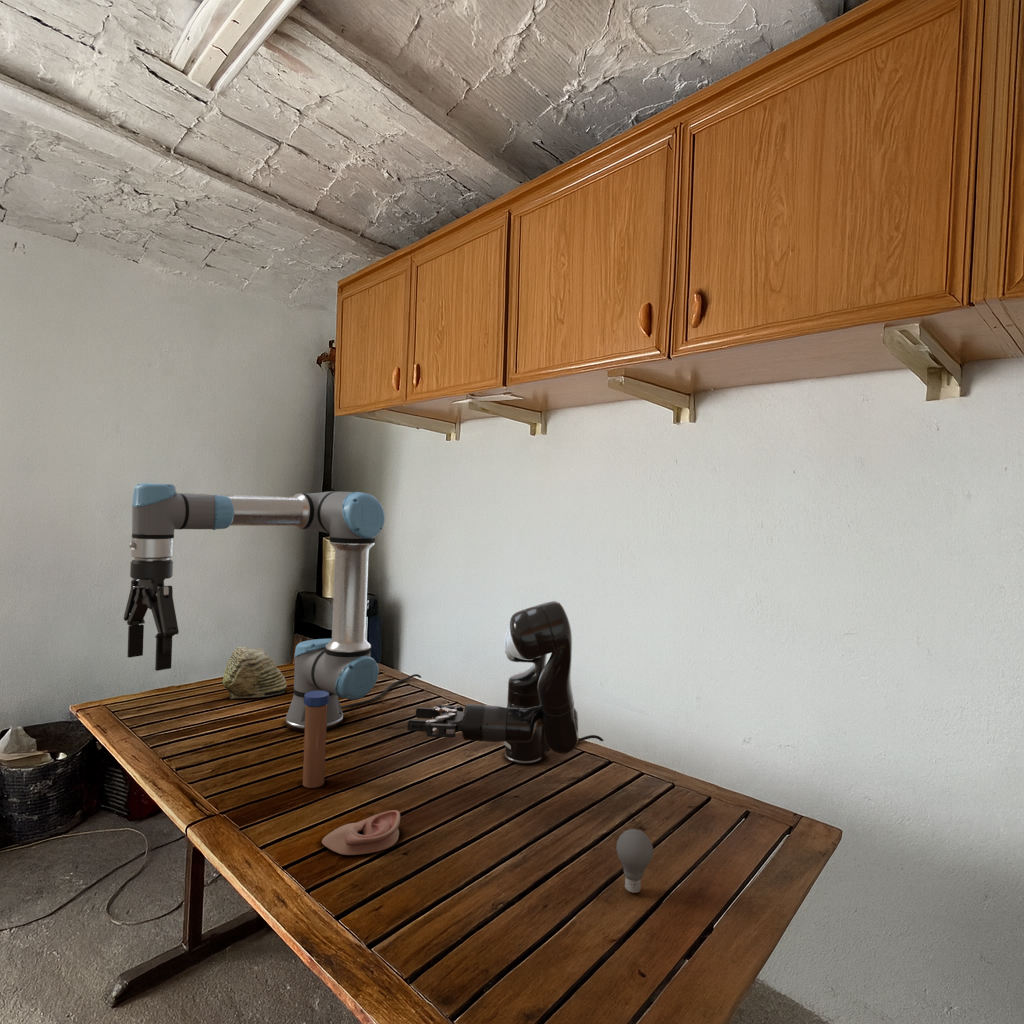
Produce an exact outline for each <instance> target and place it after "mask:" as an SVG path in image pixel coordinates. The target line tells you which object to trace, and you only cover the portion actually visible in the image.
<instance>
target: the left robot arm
mask: <svg viewBox="0 0 1024 1024" xmlns="http://www.w3.org/2000/svg"><path fill="white" fill-rule="evenodd" d="M385 515H386V513H385V511H384V508H383V505H382V503H381V502H380V501H379V500H378V498H377V497H375V495H373V494H370V493H367V492H363V491H362V492H361V491H337V490H336V491H335V490H333V491H332V490H330V491H321V492H311V493H295V494H294V495H293V496H276V495H275V496H274V495H273V496H272V495H248V494H247V495H246V494H244V495H243V494H220V493H219V494H218V493H217V494H216V493H215V494H214V493H189V492H187V493H186V492H177V491H176V486H175V485H174V484H173V483H152V482H139V483H137V484H136V485H135V486H134V488H133V492H132V501H131V520H132V521H131V542H130V543H128V547H129V548H130V549H131V550H130V556H131V558H133V559H132V560H131V561H130V567H129V568H130V571H129V574H130V575H129V576H130V578H131V581H130V590H129V594H128V598H127V603H126V607H125V610H124V615H123V621H124V622H126V624H127V626H128V629H127V630H128V631H127V658H135V657H142V656H144V635H145V634H144V630H145V625H144V624H145V623H146V621H145V619H144V618H145V616H146V615H147V612H148V609H149V610H151V613H152V618H153V620H154V624H155V627H156V631H157V633H156V635H155V636H154V638H155V661H154V663H155V665H154V668H155V669H154V670H155V671H157V672H159V671H164V670H169V669H172V659H173V657H172V655H173V637H175V636H176V635H179V632H180V631H179V625H178V619H177V615H176V614H177V613H176V609H175V603H174V597H173V595H174V593H173V585H165V580H167V579H171V578H172V577H173V575H174V573H173V572H174V561H173V560H172V559H171V558H173V557H174V554H175V553H174V552H175V530H213V531H215V530H224V529H228V528H230V526H233V527H234V526H237V527H238V526H240V527H243V526H246V527H247V526H249V527H250V526H258V527H259V526H268V527H269V526H276V527H277V526H282V527H284V526H285V527H286V526H287V527H288V526H289V527H290V526H291V527H293V528H294V529H296V530H308V531H309V530H310V531H316V532H319V533H325V534H329V544H330V545H331V546H332V547H333V548H334V550H335V551H334V572H333V573H334V577H333V599H332V625H331V626H332V627H331V638H317V639H308V640H304V641H300V642H299V643H297V645H296V646H295V650H294V655H293V657H294V672H293V673H294V674H293V695H292V696H293V697H292V699H291V702H290V704H289V708H288V711H287V713H286V715H285V726H286V728H287V729H289V730H291V731H294V732H295V731H296V732H301V733H304V732H305V706H306V705H305V704H304V695H305V693H307V692H310V691H327V692H329V696H330V698H329V703H328V704H327V728H326V731H329V730H332V729H335V728H337V727H339V726H340V725H342V723H343V722H344V713H343V709H347V708H352V707H356V706H360V705H363V704H367V703H371V702H373V701H375V700H377V699H379V698H381V697H382V696H383V695H385V694H386V693H387V692H389V690H390V689H391V688H392V687H394V686H396V685H398V684H400V683H402V682H405V681H408V680H410V679H412V678H414V677H417V678H419V679H422V676H421V675H420V674H417V673H415V674H411V675H410V676H407V677H405V678H401V679H399V680H397V681H394V682H393V683H391V684H390V685H388V687H386V689H385V690H383V691H382V692H381V693H379V694H378V695H376V696H374V697H372V698H369V699H366V700H363V701H359V702H354V703H350V704H349V703H348V704H345V705H341V702H340V699H339V698H341V699H342V700H343V699H344V700H348V701H349V700H350V701H357V700H360V699H362V698H364V697H365V696H367V695H368V694H370V692H371V690H372V689H374V687H375V685H376V683H377V682H378V678H379V674H380V672H379V671H380V670H379V669H380V668H379V665H378V663H377V662H376V660H375V659H374V657H371V652H372V649H371V648H372V644H371V643H370V642H368V640H367V639H366V631H367V607H368V606H367V605H368V604H367V602H368V582H369V581H368V579H369V555H370V553H369V552H370V550H371V548H372V547H374V545H375V544H376V536H378V535H379V534H380V533H381V530H383V528H384V526H385V522H386V521H385V520H386V516H385Z"/></svg>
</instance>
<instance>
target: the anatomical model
mask: <svg viewBox="0 0 1024 1024" xmlns="http://www.w3.org/2000/svg"><path fill="white" fill-rule="evenodd" d="M400 823H401V813H400V811H399V810H397V809H392V810H391V809H390V810H387V811H383V812H380V813H377V814H373V815H371V816H369V817H367V818H365V819H362V820H360V821H356V822H349V823H346V824H344V825H341V826H339V827H337V828H335V829H334V830H332V831H331V832H329V833H328V834H326V835H325V836H324V837H323V838H322V840H321V844H322V845H323V846H324V847H325V848H327V849H328V850H330V851H332V852H334V853H337V854H339V855H342V856H356V855H357V856H358V855H366V854H371V853H378V852H382V851H383V850H386V849H388V848H390V847H392V846H394V845H395V844H396V843H397V842H398V840H399V836H400V830H399V827H400Z"/></svg>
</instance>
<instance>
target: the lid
mask: <svg viewBox="0 0 1024 1024" xmlns="http://www.w3.org/2000/svg"><path fill="white" fill-rule="evenodd" d="M329 698H330V696H329V692H327V691H310V692H307V693H305V695H304V704H305V705H307V706H311V707H318V706H324V705H327V704H328V703H329Z"/></svg>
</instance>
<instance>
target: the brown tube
mask: <svg viewBox="0 0 1024 1024" xmlns="http://www.w3.org/2000/svg"><path fill="white" fill-rule="evenodd" d="M326 728H327V705H324V706H318V707H311V706H307V705H306V706H305V732H303V733H304V735H303V758H302V759H303V760H302V761H303V762H302V765H303V766H302V786H303V787H305V788H308V789H315V788H319V787H322V786H323V785H324V784H325V779H326V778H325V777H326V752H327V751H326V749H327V730H326Z"/></svg>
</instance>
